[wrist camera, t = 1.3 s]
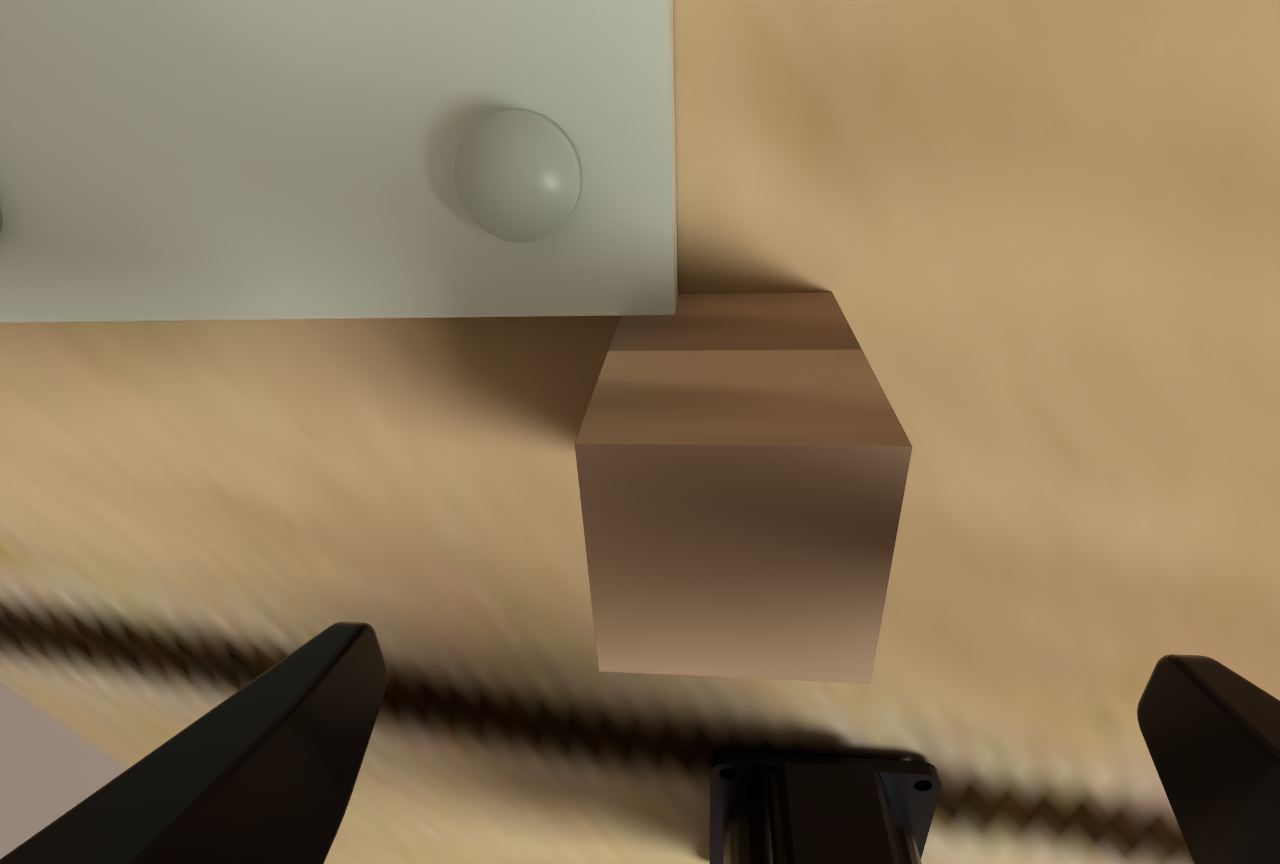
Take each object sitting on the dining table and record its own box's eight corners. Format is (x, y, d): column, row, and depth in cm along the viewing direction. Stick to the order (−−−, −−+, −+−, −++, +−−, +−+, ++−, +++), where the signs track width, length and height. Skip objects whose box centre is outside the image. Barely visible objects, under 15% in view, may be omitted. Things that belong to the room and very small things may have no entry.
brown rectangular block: (814, 465, 15) (870, 683, 10) (637, 463, 15) (599, 671, 10) (831, 291, 13) (912, 446, 8) (628, 294, 13) (574, 443, 8)
